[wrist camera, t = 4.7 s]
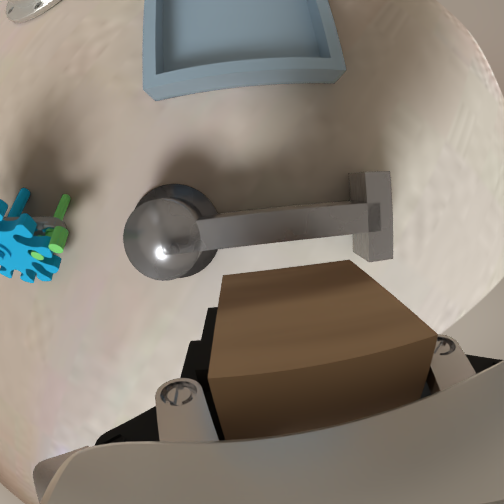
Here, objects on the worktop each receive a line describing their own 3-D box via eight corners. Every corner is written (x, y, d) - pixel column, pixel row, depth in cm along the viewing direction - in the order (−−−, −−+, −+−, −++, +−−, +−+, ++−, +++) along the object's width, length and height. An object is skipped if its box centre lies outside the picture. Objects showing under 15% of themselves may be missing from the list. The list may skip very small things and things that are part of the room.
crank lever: (147, 274, 18) (133, 288, 15) (134, 198, 17) (116, 200, 14) (374, 248, 18) (392, 258, 15) (371, 172, 16) (389, 171, 14)
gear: (-10, 284, 16) (-73, 215, 8) (9, 228, 20) (-36, 152, 11) (88, 295, 18) (28, 209, 10) (103, 230, 21) (69, 133, 13)
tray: (156, -17, 13) (148, -34, 11) (303, -31, 13) (309, -49, 10) (155, 101, 16) (143, 89, 13) (334, 83, 16) (346, 70, 13)
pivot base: (160, 166, 17) (159, 166, 16) (375, 308, 19) (376, 309, 19) (117, 245, 18) (116, 246, 17) (325, 368, 20) (325, 370, 20)
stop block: (223, 275, 11) (207, 378, 5) (349, 259, 11) (438, 334, 5) (239, 377, 12) (242, 489, 6) (345, 360, 12) (396, 457, 6)
